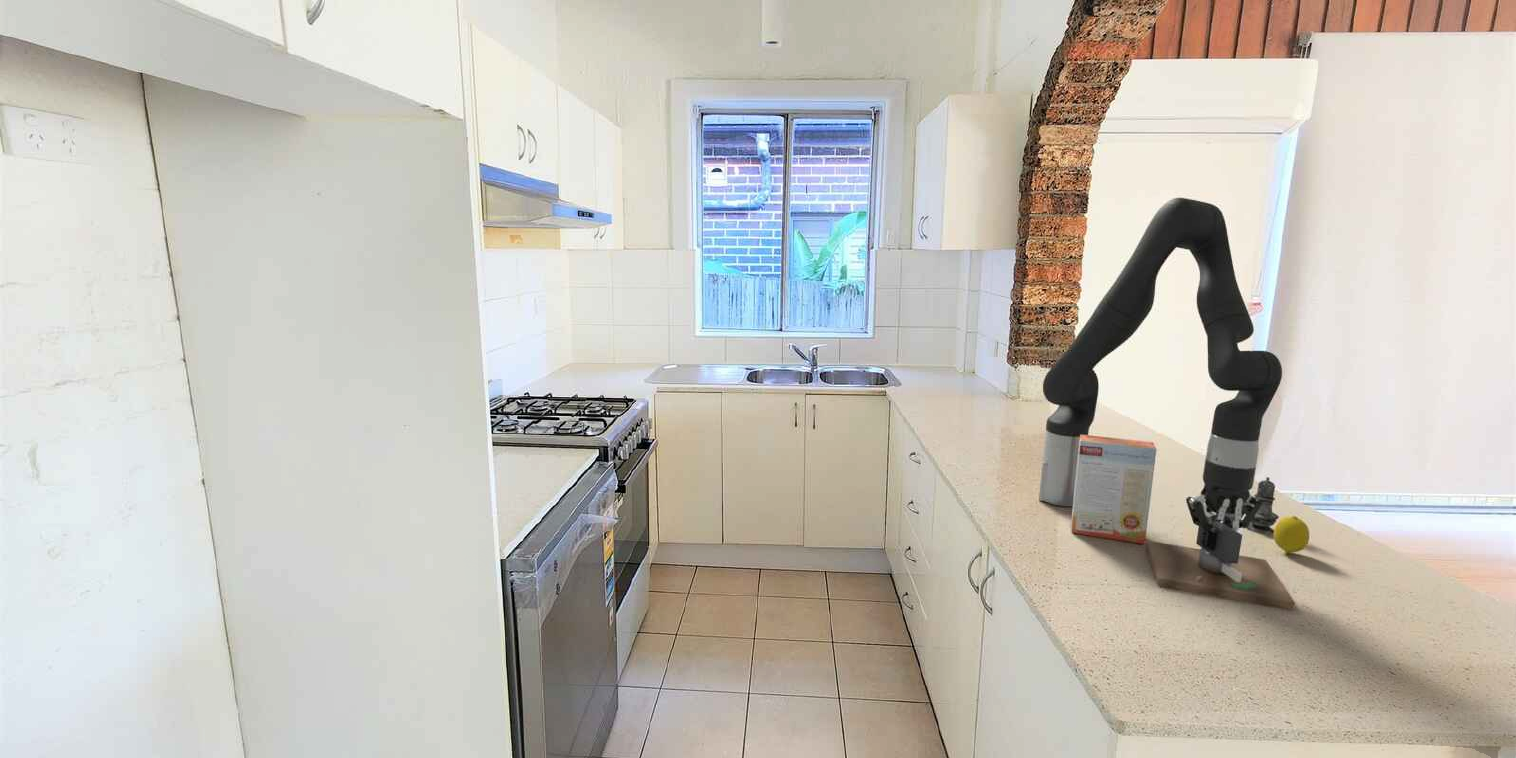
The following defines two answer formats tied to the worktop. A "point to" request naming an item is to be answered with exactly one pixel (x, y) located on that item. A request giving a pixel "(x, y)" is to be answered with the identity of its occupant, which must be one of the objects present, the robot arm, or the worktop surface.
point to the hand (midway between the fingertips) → (1216, 548)
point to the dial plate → (1217, 576)
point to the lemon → (1291, 534)
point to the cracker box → (1113, 488)
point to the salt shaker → (1264, 509)
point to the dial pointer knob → (1221, 552)
